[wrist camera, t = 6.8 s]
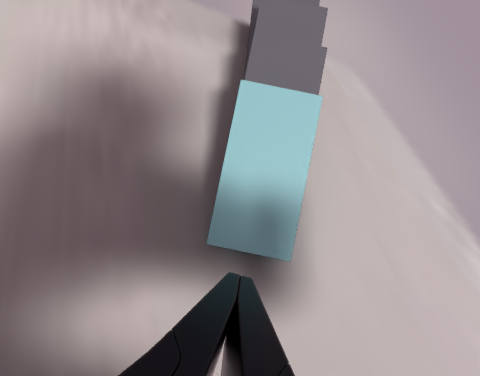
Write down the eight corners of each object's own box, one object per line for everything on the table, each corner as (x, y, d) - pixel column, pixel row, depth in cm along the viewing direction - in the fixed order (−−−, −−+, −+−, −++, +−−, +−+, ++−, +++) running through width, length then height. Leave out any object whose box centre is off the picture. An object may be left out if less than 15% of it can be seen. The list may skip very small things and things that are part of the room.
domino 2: (299, 194, 16) (327, 47, 17) (224, 179, 16) (254, 33, 17) (294, 194, 18) (319, 60, 18) (225, 181, 18) (252, 47, 19)
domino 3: (304, 140, 18) (327, 8, 19) (236, 127, 18) (261, -5, 19) (299, 144, 20) (320, 23, 20) (236, 132, 20) (259, 11, 20)
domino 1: (290, 261, 15) (322, 96, 15) (206, 243, 15) (240, 79, 15) (285, 255, 16) (314, 105, 17) (209, 239, 16) (240, 90, 17)
